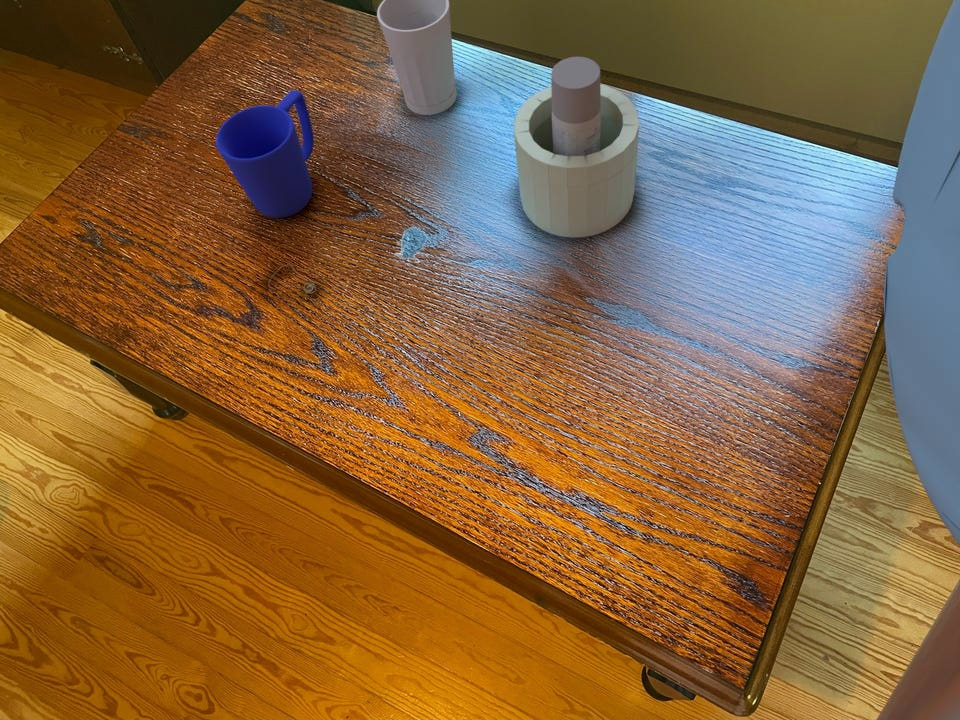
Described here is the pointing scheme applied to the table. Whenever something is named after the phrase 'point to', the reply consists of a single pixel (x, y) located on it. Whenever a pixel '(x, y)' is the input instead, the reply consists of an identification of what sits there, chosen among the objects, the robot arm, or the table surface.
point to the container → (576, 107)
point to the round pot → (577, 168)
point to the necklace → (304, 285)
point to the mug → (270, 155)
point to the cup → (421, 51)
